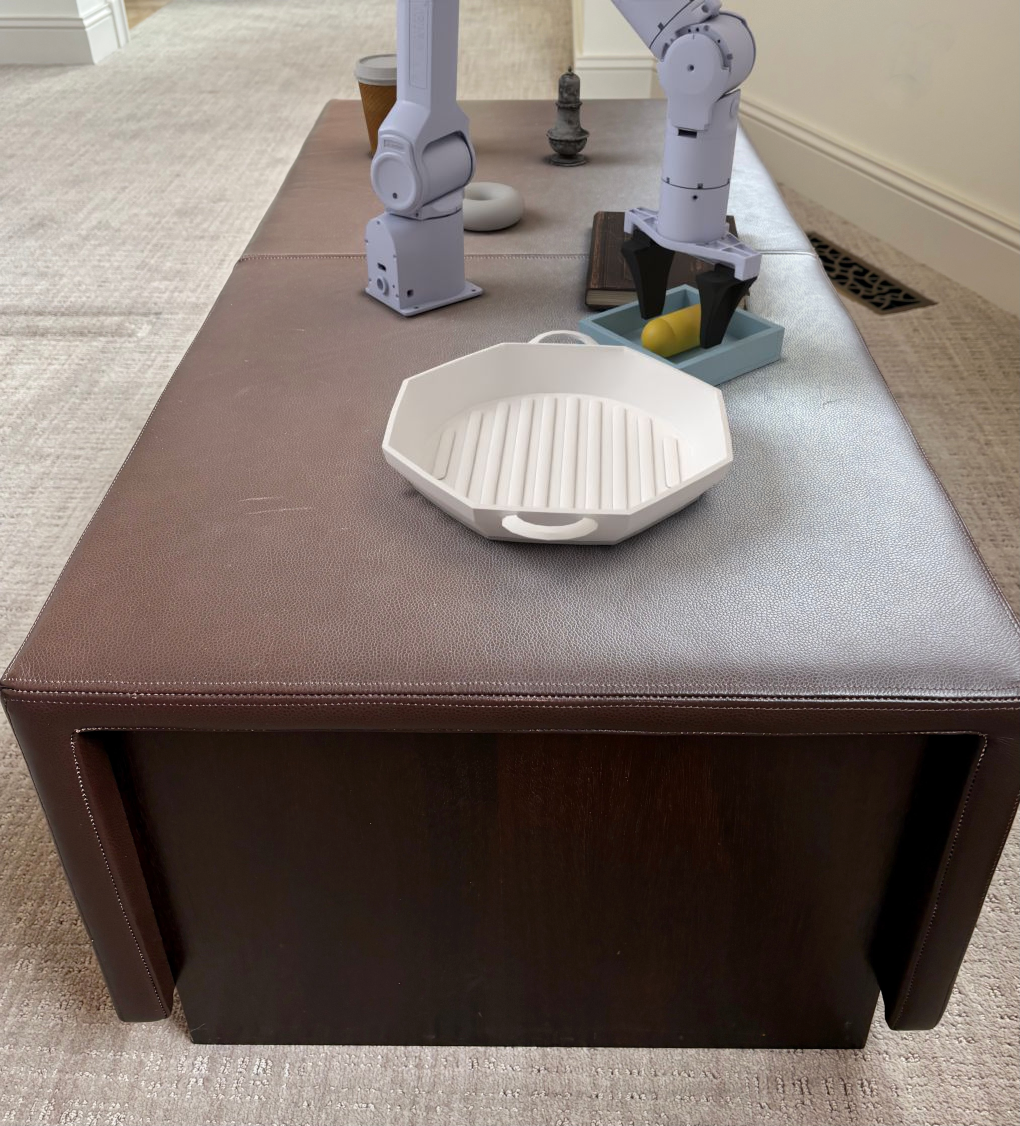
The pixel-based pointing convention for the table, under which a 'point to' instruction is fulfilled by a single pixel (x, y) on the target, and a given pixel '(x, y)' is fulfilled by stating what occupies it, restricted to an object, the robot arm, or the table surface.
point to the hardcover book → (611, 271)
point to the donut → (491, 206)
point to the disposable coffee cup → (377, 90)
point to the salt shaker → (568, 124)
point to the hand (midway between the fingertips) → (680, 330)
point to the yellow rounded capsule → (673, 332)
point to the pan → (559, 440)
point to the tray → (737, 354)
